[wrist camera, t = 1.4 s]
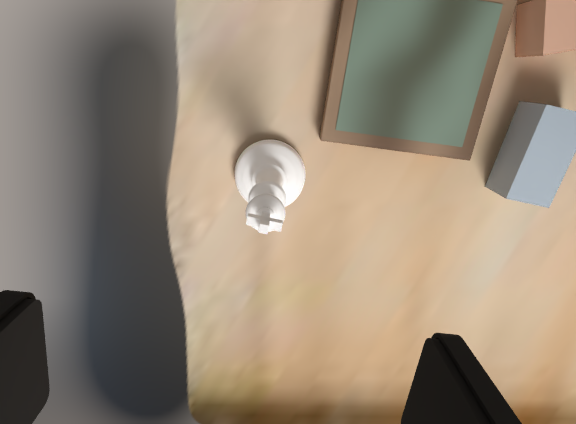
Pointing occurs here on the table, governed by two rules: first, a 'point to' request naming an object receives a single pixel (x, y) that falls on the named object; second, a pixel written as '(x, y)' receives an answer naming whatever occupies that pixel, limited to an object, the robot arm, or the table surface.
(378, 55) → the green-topped square tray
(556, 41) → the terracotta brick
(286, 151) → the chess piece
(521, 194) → the slate-blue brick
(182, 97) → the table surface
